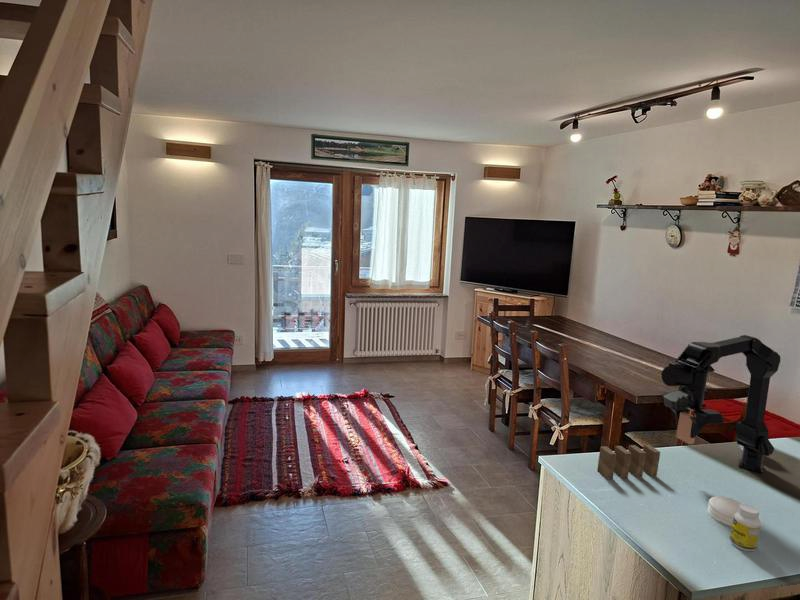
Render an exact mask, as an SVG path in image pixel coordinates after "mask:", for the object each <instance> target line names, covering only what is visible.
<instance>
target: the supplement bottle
mask: <svg viewBox="0 0 800 600" xmlns="http://www.w3.org/2000/svg"><path fill="white" fill-rule="evenodd" d="M759 515H760V510H759V509H758V508H757V507H755V506H753V505H751V504H748V503H743V504H740V506H739V512H736V513H735V514H734V518H733V524H732V527H731V530H730V535H729V542H730V543H731V545H733V546H734V547H736V548H738V549H739V550H741V551H745V552H755V551H756V550H757V545H758V541H759V534H760V531H761V524H762V523H761V520H760V518H759Z"/></svg>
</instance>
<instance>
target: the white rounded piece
mask: <svg viewBox="0 0 800 600" xmlns="http://www.w3.org/2000/svg"><path fill="white" fill-rule="evenodd" d="M740 504H744V503H743V502H741V501H739V500H736V499H734V498H731V497H725V496H720V495H719V496H712V497H710V499H709V500H708V504H707V506H708V507H707V513H708V515H709V516H711V518H713V520H716V521H717V522H718V523H720V524H722V525H726V526H728V527H731V528H732V524H733V518H734V514H735V513H736V512H739V506H740Z"/></svg>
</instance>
